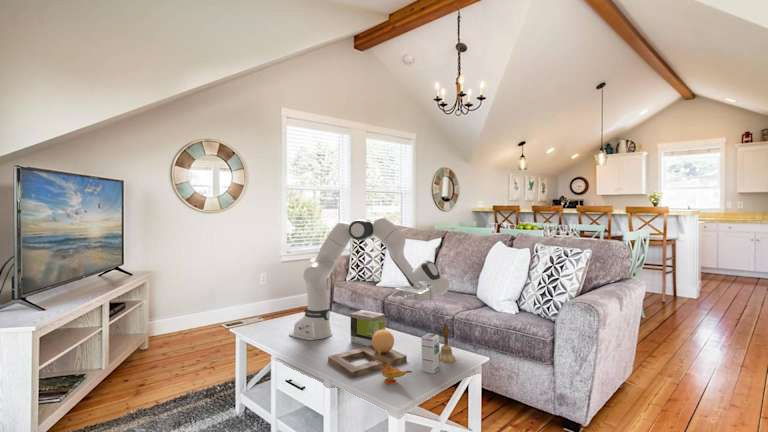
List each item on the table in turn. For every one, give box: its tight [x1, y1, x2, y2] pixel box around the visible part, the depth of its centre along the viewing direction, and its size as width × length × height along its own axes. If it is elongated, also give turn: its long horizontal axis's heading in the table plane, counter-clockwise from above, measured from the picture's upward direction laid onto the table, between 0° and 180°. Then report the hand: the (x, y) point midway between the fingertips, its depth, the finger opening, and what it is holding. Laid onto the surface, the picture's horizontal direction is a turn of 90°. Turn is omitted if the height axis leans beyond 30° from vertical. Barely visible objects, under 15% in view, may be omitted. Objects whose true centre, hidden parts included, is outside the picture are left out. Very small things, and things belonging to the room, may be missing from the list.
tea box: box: [350, 309, 386, 347], centre depth 197 cm, size 15×10×15 cm
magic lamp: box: [377, 349, 413, 385], centre depth 153 cm, size 7×18×11 cm, turn 48°
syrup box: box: [421, 332, 441, 374], centre depth 164 cm, size 6×6×14 cm
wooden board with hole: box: [327, 345, 408, 379], centre depth 173 cm, size 28×20×2 cm
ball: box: [372, 329, 395, 353], centre depth 178 cm, size 10×10×10 cm
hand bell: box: [440, 322, 457, 363], centre depth 176 cm, size 8×8×16 cm
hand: (398, 296), depth 182 cm, fingers open, 8 cm apart
